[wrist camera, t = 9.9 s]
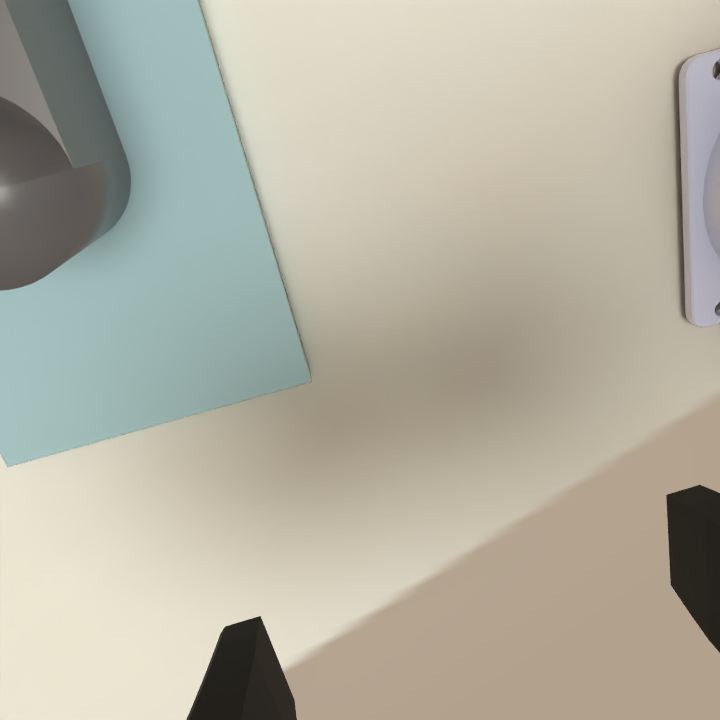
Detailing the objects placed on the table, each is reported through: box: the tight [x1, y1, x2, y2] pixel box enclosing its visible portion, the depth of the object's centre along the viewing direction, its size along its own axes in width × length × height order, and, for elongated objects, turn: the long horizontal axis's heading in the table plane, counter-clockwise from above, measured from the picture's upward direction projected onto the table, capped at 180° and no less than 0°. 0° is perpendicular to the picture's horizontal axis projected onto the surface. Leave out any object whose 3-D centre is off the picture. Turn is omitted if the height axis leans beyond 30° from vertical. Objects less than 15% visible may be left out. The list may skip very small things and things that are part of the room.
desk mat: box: [0, 0, 312, 467], centre depth 14 cm, size 9×19×1 cm, turn 14°
